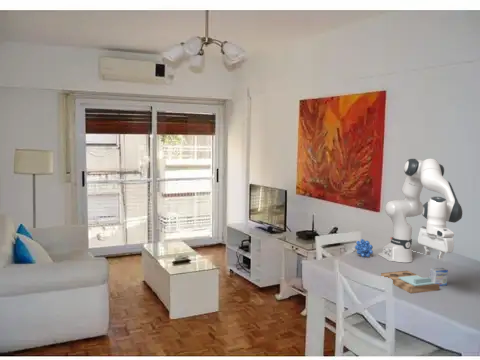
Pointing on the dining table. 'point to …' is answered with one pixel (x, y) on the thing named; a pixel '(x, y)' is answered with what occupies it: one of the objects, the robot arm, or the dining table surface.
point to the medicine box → (439, 276)
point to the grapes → (363, 248)
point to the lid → (417, 280)
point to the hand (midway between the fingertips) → (433, 256)
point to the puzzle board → (406, 285)
